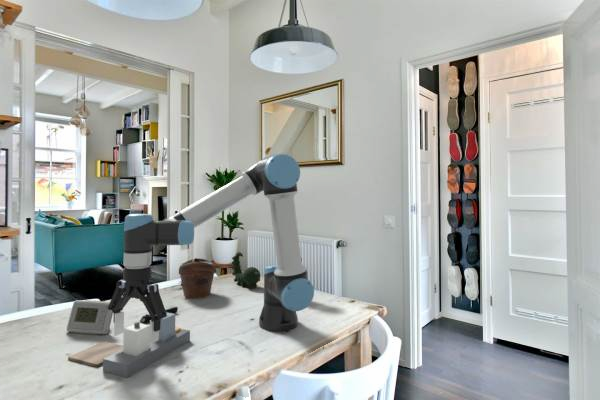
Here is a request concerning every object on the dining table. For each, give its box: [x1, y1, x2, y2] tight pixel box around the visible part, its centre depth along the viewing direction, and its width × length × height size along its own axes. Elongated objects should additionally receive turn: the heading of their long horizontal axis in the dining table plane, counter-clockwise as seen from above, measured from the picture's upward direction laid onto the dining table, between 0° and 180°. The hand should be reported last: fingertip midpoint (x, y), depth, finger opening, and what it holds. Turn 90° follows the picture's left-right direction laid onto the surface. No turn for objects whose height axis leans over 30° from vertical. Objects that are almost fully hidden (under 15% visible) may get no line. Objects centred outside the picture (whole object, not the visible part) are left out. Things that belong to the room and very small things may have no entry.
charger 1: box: [122, 321, 150, 357], centre depth 102 cm, size 5×5×10 cm
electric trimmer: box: [139, 306, 179, 325], centre depth 139 cm, size 4×16×3 cm, turn 144°
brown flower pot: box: [178, 257, 217, 299], centre depth 172 cm, size 18×20×18 cm
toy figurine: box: [231, 251, 261, 289], centre depth 190 cm, size 9×19×25 cm
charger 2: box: [159, 312, 176, 341], centre depth 112 cm, size 5×5×10 cm
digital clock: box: [66, 299, 114, 336], centre depth 124 cm, size 16×9×11 cm, turn 71°
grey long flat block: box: [102, 326, 191, 379], centre depth 107 cm, size 9×26×4 cm, turn 159°
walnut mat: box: [67, 341, 123, 368], centre depth 106 cm, size 12×12×1 cm
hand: (136, 337), depth 102 cm, fingers open, 13 cm apart
